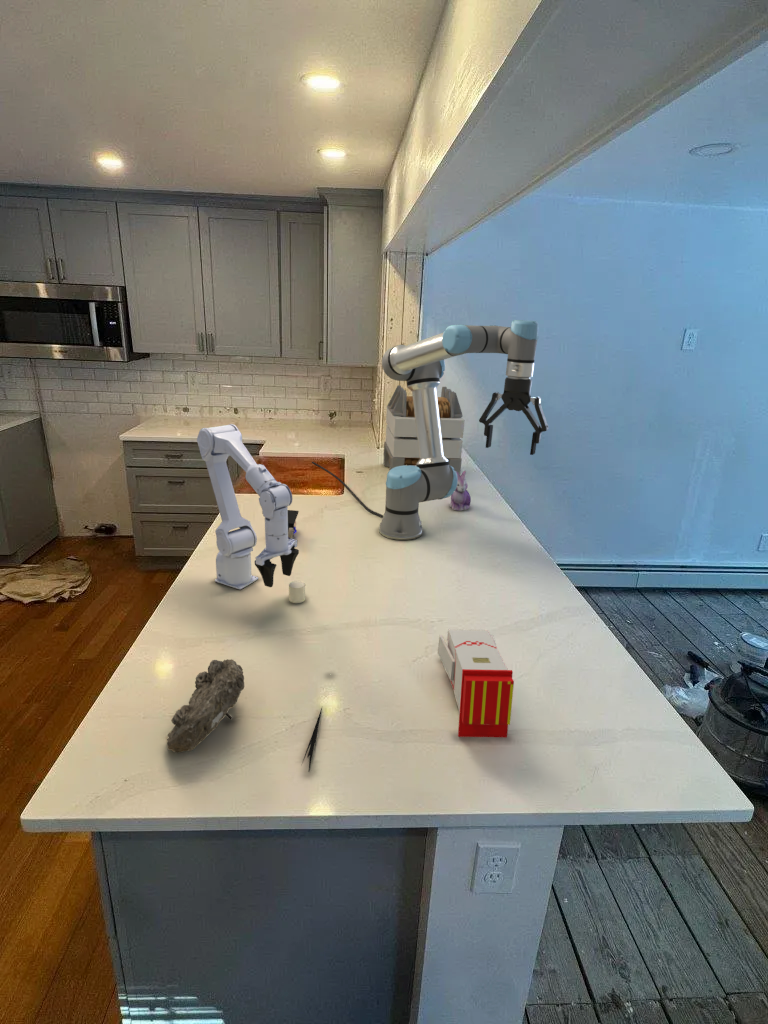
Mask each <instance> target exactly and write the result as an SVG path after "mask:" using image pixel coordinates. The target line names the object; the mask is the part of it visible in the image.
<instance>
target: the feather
mask: <svg viewBox="0 0 768 1024" xmlns="http://www.w3.org/2000/svg"><path fill="white" fill-rule="evenodd" d="M329 675H330V676H331V675H332V674H331V673H330V674H329ZM322 710H323V707H321V708H320V710H319V713H318V716H317V719H316V723H315V725H314V728H313V731H312V733H311V737H310V739H309V742H308V745H307V748H306V751H305V754H304V757H303V760H302V763H301V767H302V765H303V763H304V761H305V758H308V759H309V760H308V762H307V763H308V764H307V766H308V771H310V770H311V766H312V765H311V764H312V760H313V757H315V756H314V755H315V751H316V749H315V746H317V739H318V733H319V729H320V722H321V717H322V712H323V711H322ZM313 754H314V755H313ZM306 755H307V757H306Z"/></svg>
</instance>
